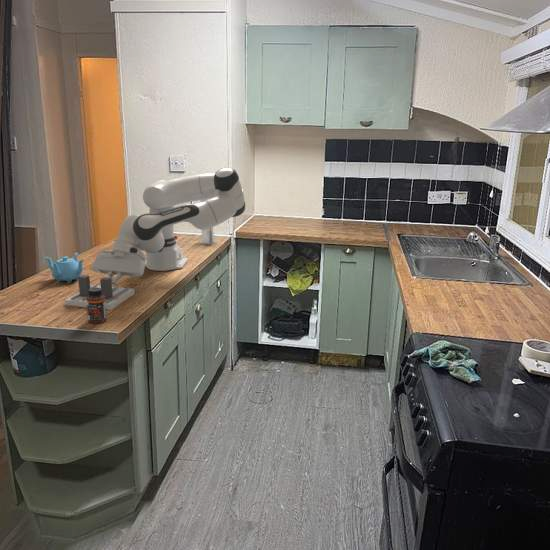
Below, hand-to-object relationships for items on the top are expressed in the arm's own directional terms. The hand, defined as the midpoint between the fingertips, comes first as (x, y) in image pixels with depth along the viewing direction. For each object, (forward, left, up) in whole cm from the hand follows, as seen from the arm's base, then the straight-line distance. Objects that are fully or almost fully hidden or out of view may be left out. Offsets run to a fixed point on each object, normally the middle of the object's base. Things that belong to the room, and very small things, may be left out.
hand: (111, 283), depth 189 cm
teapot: (-15, -30, -6) cm, 34 cm away
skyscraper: (-94, +4, -6) cm, 94 cm away
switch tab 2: (+5, +1, -4) cm, 6 cm away
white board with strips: (+2, -4, -6) cm, 7 cm away
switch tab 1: (+5, -8, -4) cm, 10 cm away
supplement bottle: (+21, +6, -6) cm, 23 cm away
